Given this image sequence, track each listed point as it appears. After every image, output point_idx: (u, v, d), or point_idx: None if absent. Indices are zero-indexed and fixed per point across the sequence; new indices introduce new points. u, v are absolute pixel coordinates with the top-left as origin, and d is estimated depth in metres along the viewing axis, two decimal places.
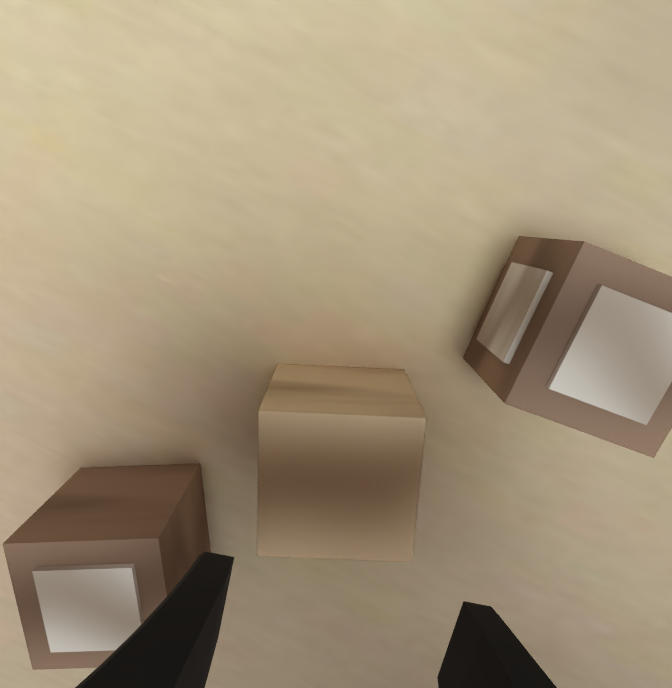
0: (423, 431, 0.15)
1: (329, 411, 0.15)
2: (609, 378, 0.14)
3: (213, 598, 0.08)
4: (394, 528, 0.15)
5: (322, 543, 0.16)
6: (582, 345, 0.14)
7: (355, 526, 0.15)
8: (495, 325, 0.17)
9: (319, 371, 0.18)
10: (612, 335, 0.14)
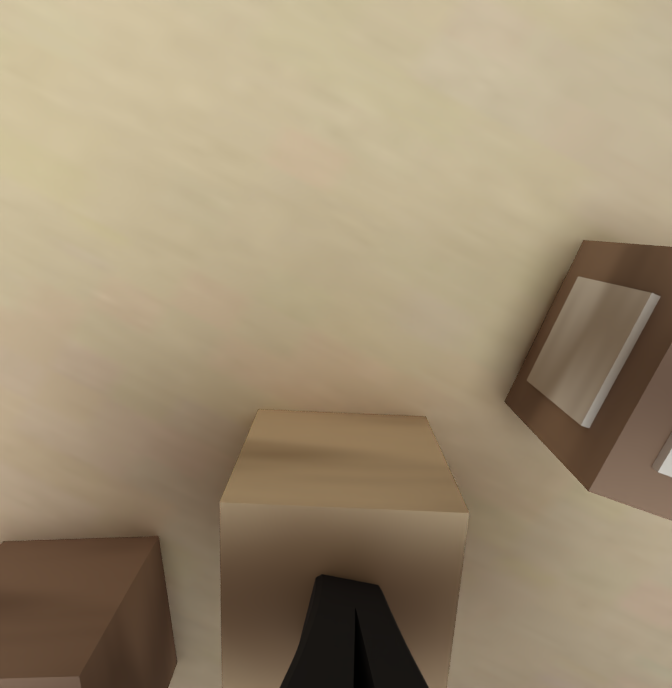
0: (464, 531, 0.10)
1: (325, 500, 0.10)
2: None
3: (352, 624, 0.08)
4: (419, 663, 0.11)
5: None
6: None
7: None
8: (559, 365, 0.12)
9: (313, 422, 0.14)
10: None
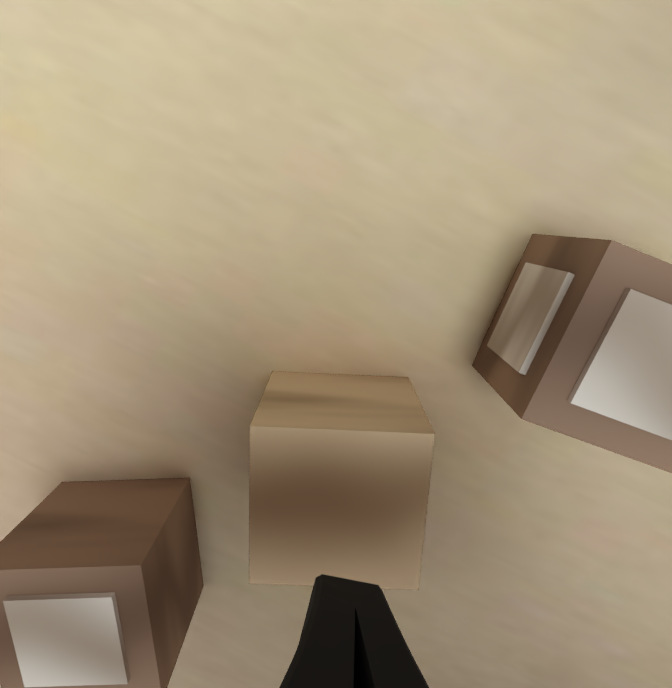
0: (431, 448, 0.13)
1: (328, 426, 0.13)
2: (637, 391, 0.13)
3: (352, 624, 0.08)
4: (399, 553, 0.14)
5: (320, 570, 0.14)
6: (607, 355, 0.12)
7: (357, 551, 0.14)
8: (508, 331, 0.15)
9: (317, 380, 0.17)
10: (641, 344, 0.12)
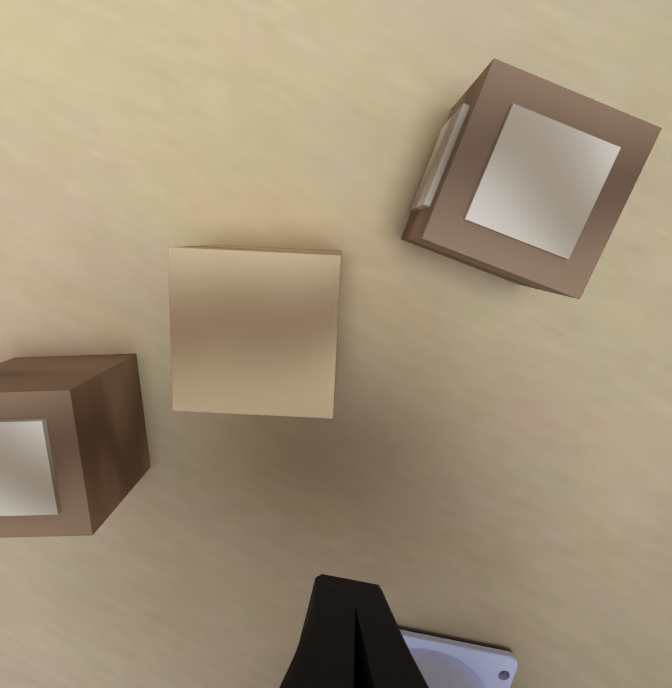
0: (338, 270, 0.14)
1: (242, 250, 0.14)
2: (527, 206, 0.14)
3: (352, 624, 0.08)
4: (313, 379, 0.15)
5: (239, 396, 0.15)
6: (496, 170, 0.13)
7: (273, 377, 0.15)
8: (423, 184, 0.16)
9: (252, 247, 0.18)
10: (527, 159, 0.13)
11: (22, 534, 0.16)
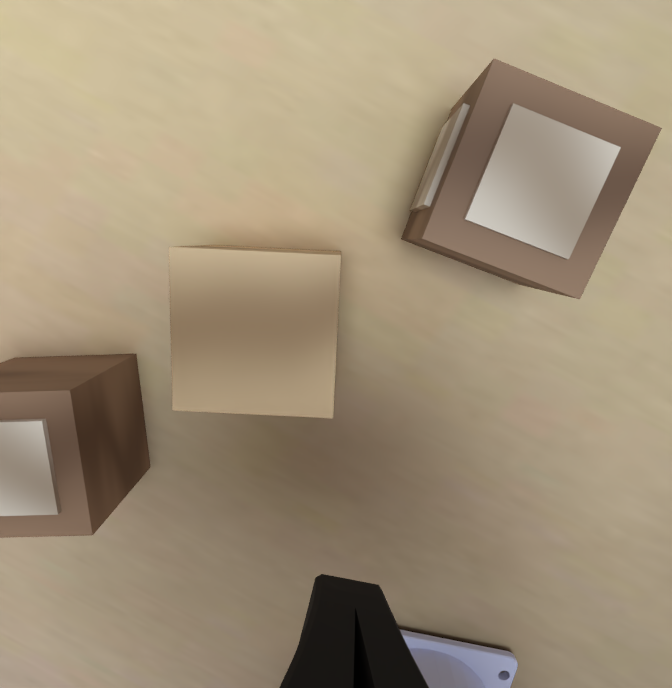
0: (338, 270, 0.14)
1: (243, 250, 0.14)
2: (527, 206, 0.14)
3: (352, 624, 0.08)
4: (313, 379, 0.15)
5: (239, 396, 0.15)
6: (496, 170, 0.13)
7: (273, 377, 0.15)
8: (423, 184, 0.16)
9: (252, 247, 0.18)
10: (527, 159, 0.13)
11: (22, 534, 0.16)
